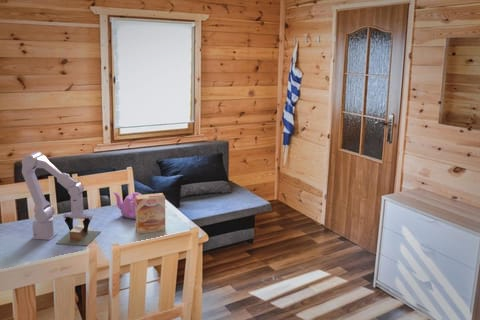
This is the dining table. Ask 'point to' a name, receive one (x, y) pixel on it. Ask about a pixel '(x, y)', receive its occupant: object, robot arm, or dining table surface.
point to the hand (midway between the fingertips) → (78, 231)
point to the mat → (83, 242)
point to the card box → (77, 233)
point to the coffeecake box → (150, 213)
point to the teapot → (127, 205)
